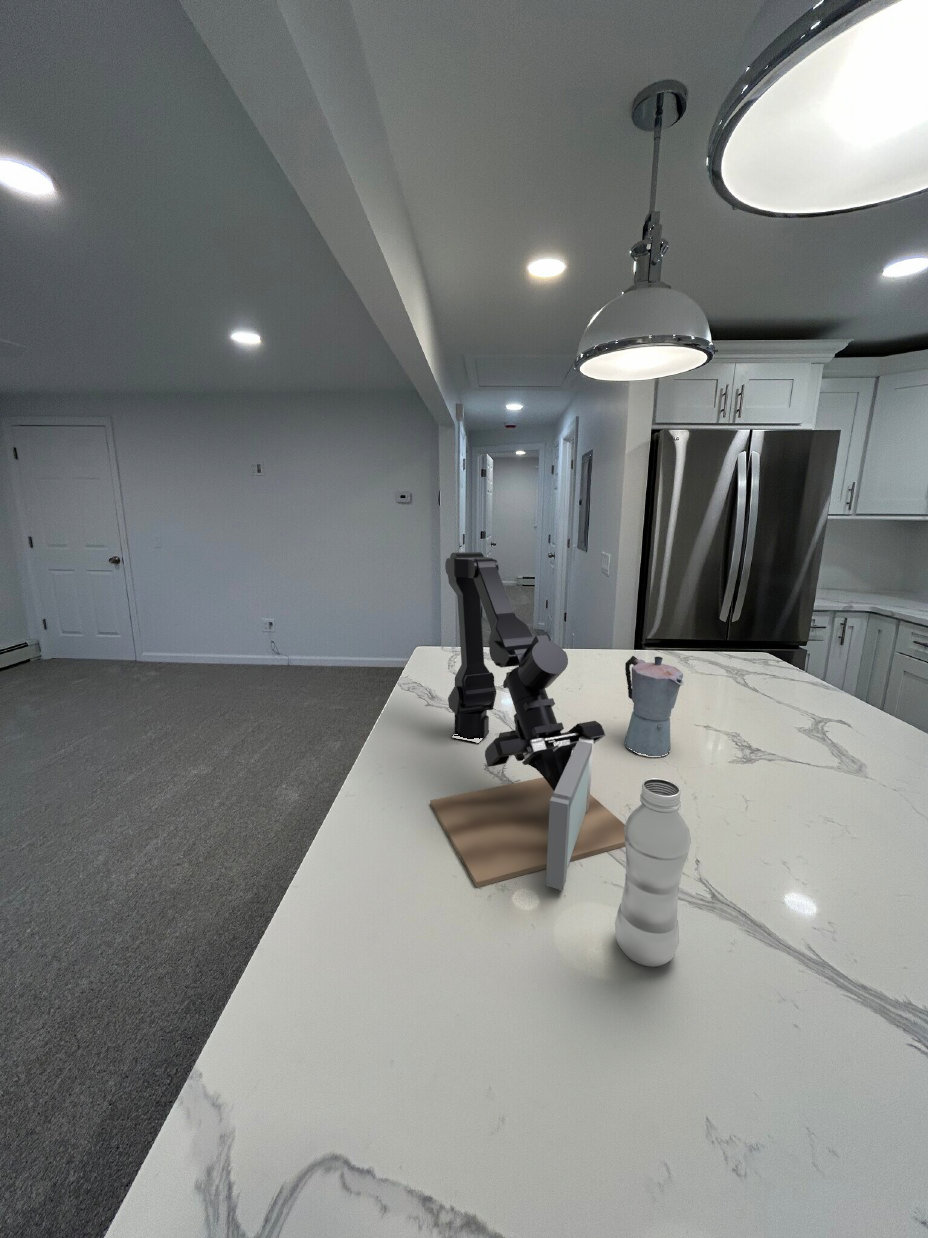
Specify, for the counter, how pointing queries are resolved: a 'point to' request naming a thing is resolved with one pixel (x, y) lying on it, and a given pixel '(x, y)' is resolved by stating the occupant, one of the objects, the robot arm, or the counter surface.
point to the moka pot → (651, 705)
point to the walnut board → (517, 829)
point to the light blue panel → (568, 811)
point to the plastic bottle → (653, 875)
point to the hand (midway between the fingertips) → (564, 798)
